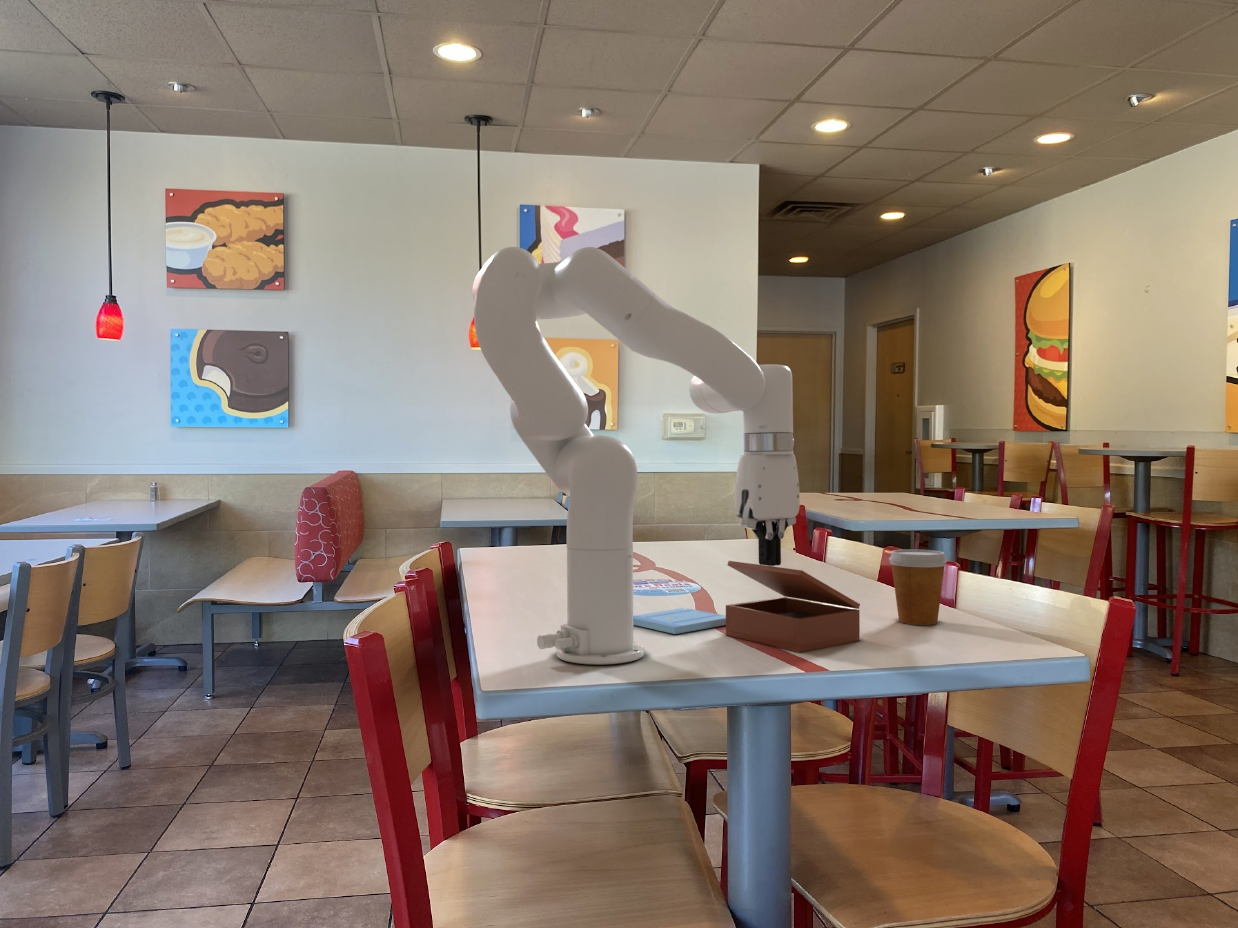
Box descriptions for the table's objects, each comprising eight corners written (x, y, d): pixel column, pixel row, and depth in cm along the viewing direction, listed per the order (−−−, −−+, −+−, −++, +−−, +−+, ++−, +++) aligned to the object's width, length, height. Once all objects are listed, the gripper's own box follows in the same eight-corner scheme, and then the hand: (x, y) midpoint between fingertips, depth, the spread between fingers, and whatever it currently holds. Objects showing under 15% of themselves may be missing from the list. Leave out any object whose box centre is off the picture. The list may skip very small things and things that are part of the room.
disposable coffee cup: (918, 615, 154) (917, 548, 154) (959, 624, 146) (959, 553, 146) (877, 619, 150) (876, 550, 150) (917, 629, 142) (917, 556, 142)
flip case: (799, 652, 125) (799, 619, 125) (725, 634, 138) (725, 605, 138) (859, 640, 133) (859, 609, 133) (785, 625, 146) (784, 596, 146)
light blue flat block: (684, 614, 156) (684, 607, 156) (732, 623, 147) (732, 616, 147) (627, 623, 148) (626, 616, 148) (675, 634, 138) (675, 626, 138)
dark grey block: (786, 638, 131) (786, 621, 131) (762, 633, 135) (762, 616, 135) (821, 631, 136) (821, 615, 136) (798, 627, 140) (797, 611, 140)
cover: (800, 575, 125) (802, 570, 126) (727, 565, 138) (728, 560, 138) (858, 608, 133) (860, 604, 133) (784, 596, 146) (785, 591, 146)
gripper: (784, 446, 140) (785, 558, 140) (715, 446, 131) (717, 566, 131) (820, 445, 134) (821, 563, 134) (750, 445, 125) (752, 571, 125)
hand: (769, 564), depth 133 cm, fingers closed
